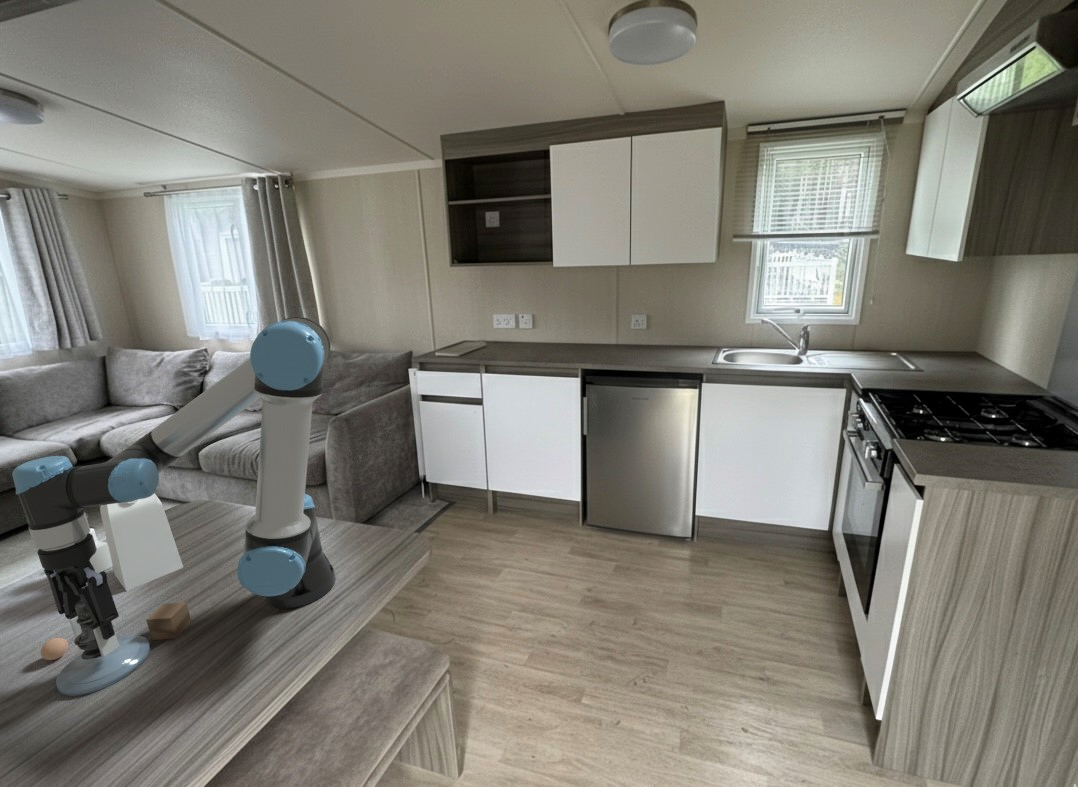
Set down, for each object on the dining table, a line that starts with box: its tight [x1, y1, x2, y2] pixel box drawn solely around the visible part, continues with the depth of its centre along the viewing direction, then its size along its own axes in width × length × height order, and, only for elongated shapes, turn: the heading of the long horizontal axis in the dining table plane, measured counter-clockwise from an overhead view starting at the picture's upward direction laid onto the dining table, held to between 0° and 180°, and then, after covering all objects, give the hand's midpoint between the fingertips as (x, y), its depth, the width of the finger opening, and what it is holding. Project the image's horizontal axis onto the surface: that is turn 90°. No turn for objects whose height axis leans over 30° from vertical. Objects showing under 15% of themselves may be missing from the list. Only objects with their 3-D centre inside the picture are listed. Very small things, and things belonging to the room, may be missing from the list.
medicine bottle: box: [89, 526, 113, 573], centre depth 131 cm, size 7×7×12 cm
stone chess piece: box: [73, 598, 115, 660], centre depth 96 cm, size 6×6×12 cm
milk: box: [99, 492, 184, 592], centre depth 128 cm, size 12×12×26 cm
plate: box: [55, 634, 151, 697], centre depth 99 cm, size 14×14×1 cm
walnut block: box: [145, 602, 192, 641], centre depth 107 cm, size 5×5×5 cm
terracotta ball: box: [40, 637, 69, 661], centre depth 101 cm, size 4×4×4 cm
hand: (99, 647), depth 98 cm, fingers closed on stone chess piece, 6 cm apart
